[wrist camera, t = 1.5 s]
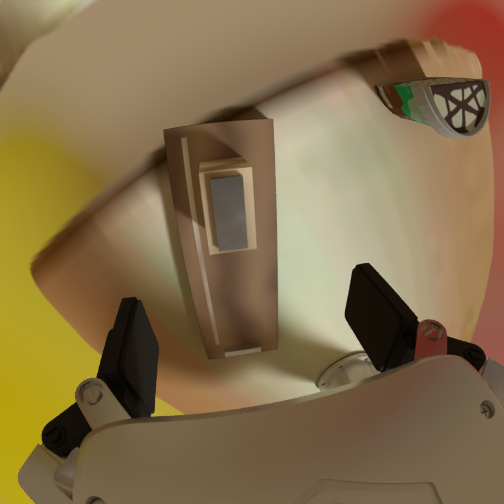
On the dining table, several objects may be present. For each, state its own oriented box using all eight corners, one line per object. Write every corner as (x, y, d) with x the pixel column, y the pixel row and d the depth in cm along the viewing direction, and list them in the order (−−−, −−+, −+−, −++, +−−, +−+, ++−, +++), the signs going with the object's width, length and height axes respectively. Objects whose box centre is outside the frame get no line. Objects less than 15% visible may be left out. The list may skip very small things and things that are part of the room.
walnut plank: (268, 118, 25) (275, 119, 22) (274, 339, 39) (278, 353, 37) (166, 129, 23) (162, 130, 21) (207, 349, 38) (208, 363, 36)
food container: (378, 137, 27) (438, 154, 18) (364, 87, 24) (425, 87, 15) (442, 118, 26) (498, 132, 18) (433, 76, 23) (490, 80, 15)
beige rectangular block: (243, 157, 24) (253, 168, 19) (247, 225, 28) (258, 252, 23) (200, 162, 24) (198, 174, 19) (208, 230, 27) (210, 258, 22)
